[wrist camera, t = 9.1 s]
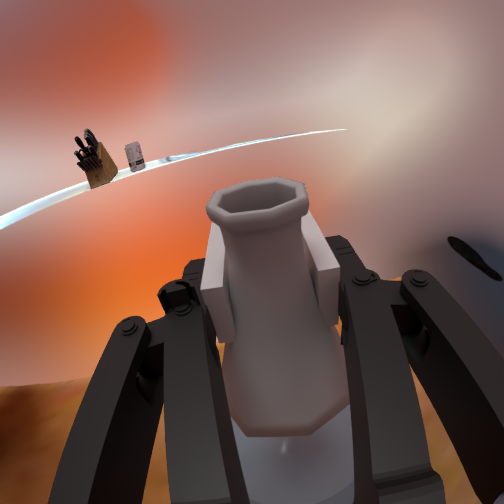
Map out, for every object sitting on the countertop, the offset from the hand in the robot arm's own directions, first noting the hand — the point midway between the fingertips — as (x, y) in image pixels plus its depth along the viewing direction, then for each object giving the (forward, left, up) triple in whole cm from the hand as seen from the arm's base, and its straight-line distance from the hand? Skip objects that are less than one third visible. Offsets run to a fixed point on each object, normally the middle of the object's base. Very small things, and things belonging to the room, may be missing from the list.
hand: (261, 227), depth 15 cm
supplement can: (-57, +131, -18) cm, 144 cm away
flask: (0, -6, -6) cm, 8 cm away
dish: (0, -5, -18) cm, 19 cm away
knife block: (-76, +124, -18) cm, 147 cm away
